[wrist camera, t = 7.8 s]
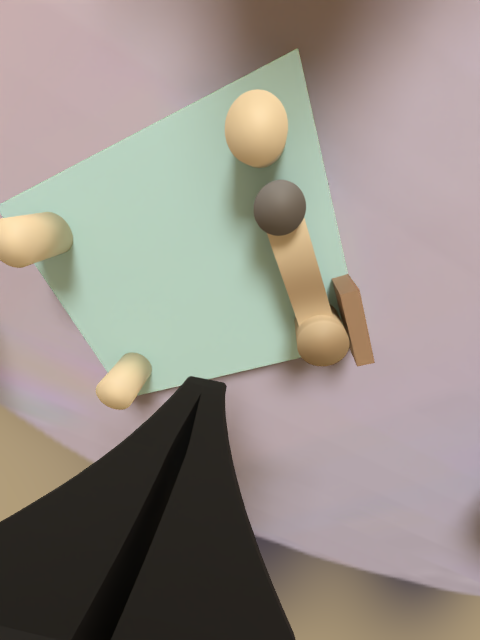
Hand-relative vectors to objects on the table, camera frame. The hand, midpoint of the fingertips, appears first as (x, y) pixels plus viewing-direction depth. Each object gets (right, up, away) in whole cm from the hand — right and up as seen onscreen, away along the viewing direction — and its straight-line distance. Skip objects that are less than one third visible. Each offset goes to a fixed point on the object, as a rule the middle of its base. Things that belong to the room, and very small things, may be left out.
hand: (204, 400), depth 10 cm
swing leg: (+5, +6, +5) cm, 9 cm away
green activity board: (-2, +6, +8) cm, 10 cm away
